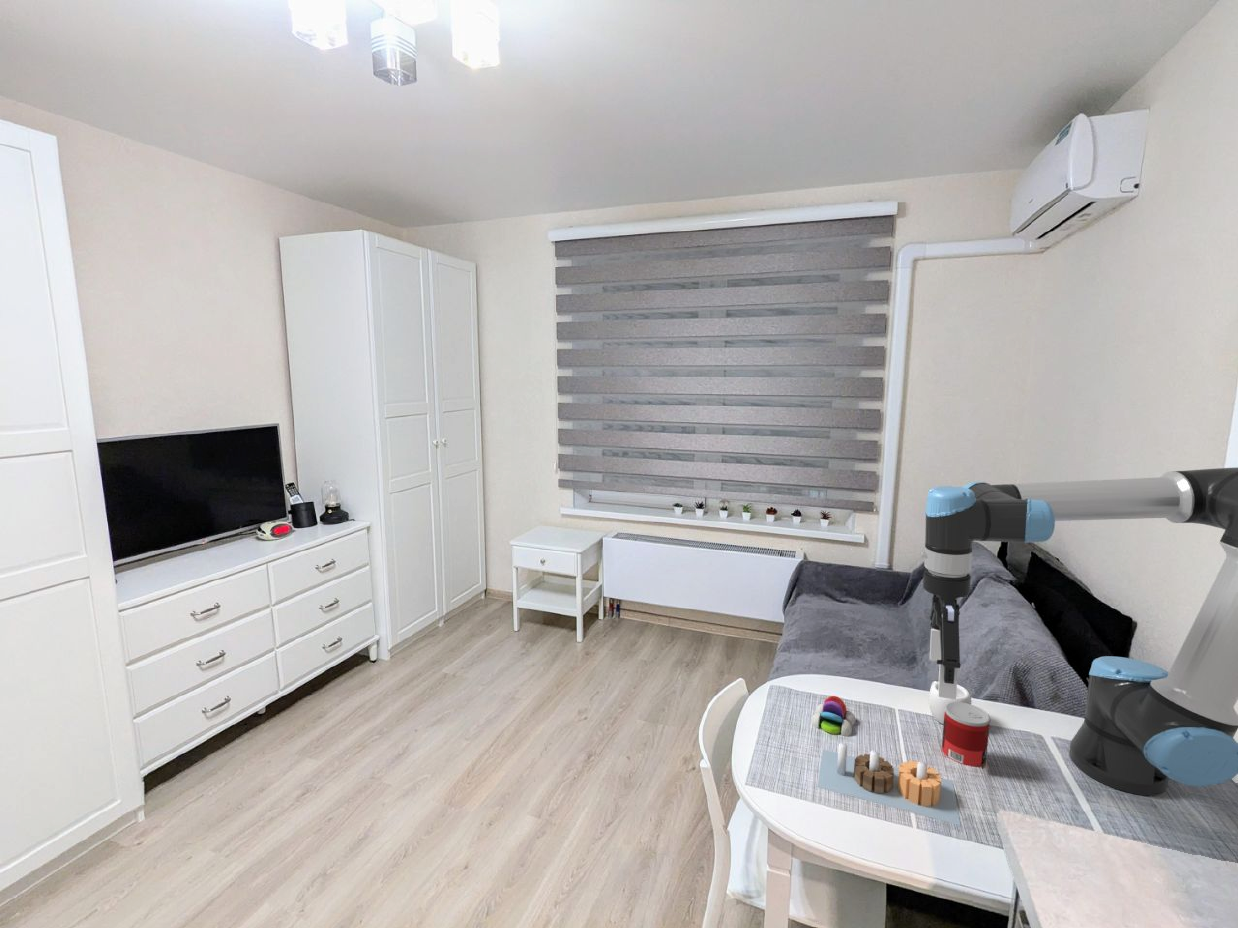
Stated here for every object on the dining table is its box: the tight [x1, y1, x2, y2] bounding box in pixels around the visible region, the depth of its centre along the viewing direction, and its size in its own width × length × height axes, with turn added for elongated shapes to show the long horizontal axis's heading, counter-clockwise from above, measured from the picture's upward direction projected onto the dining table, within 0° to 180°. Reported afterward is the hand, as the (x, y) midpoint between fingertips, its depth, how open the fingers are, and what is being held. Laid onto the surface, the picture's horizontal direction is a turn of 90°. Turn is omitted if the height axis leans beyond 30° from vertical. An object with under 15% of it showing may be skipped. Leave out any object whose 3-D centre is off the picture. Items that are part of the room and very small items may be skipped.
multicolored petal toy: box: [810, 695, 856, 737], centre depth 130 cm, size 8×10×7 cm
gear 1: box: [854, 753, 894, 793], centre depth 112 cm, size 7×7×3 cm
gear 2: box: [898, 760, 942, 807], centre depth 108 cm, size 7×7×4 cm
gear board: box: [817, 742, 962, 826], centre depth 111 cm, size 24×12×8 cm, turn 66°
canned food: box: [941, 702, 991, 770], centre depth 119 cm, size 8×8×11 cm
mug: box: [928, 680, 972, 725], centre depth 134 cm, size 12×8×8 cm
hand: (942, 678), depth 108 cm, fingers open, 13 cm apart
